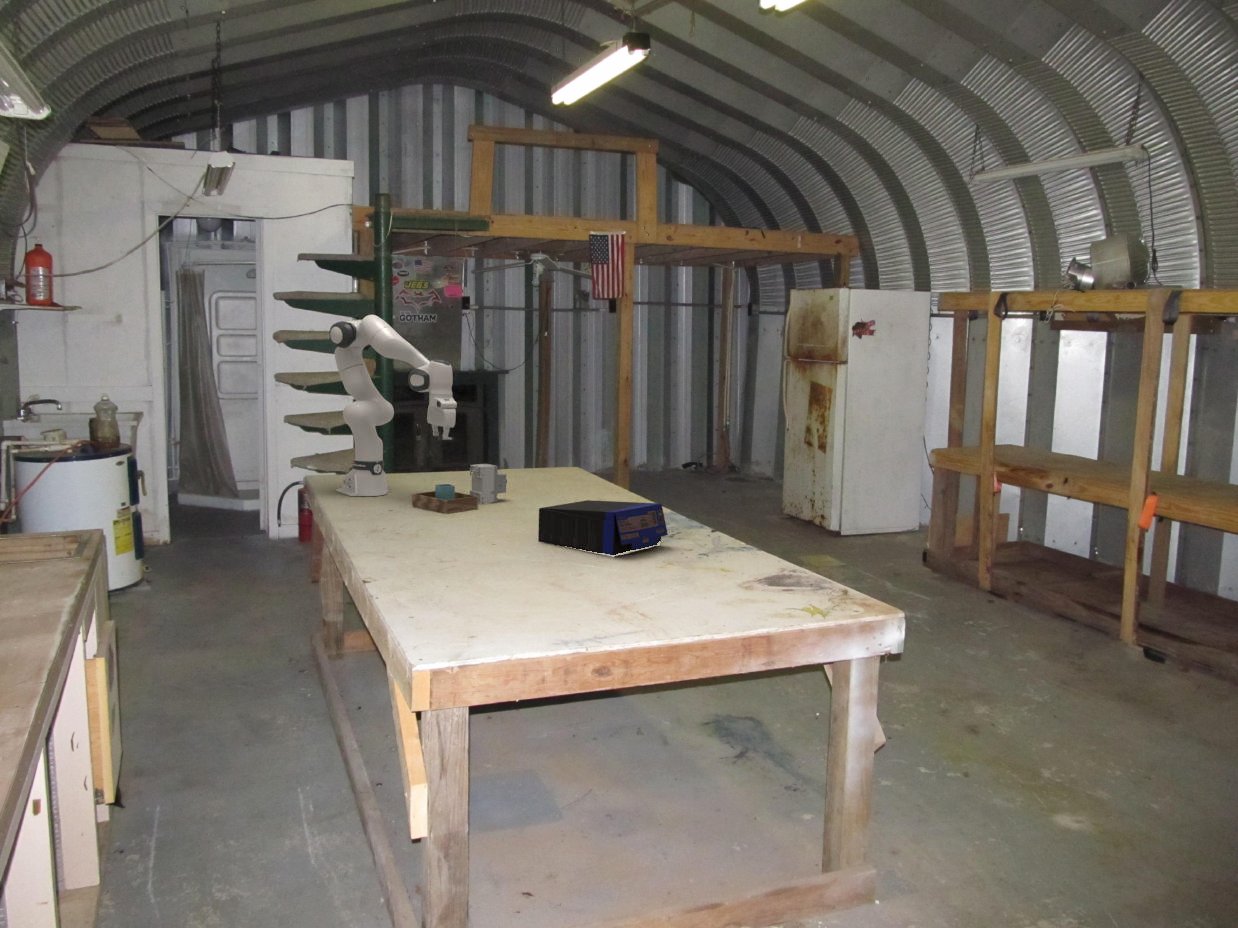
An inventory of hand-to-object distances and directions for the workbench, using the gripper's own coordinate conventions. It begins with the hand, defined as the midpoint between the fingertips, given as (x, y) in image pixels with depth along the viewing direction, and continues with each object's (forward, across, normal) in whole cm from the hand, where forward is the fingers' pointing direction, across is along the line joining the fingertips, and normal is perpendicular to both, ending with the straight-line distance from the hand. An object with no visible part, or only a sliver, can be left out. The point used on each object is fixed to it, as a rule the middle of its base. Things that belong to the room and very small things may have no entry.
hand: (440, 437), depth 366 cm
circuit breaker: (+27, +1, +21) cm, 34 cm away
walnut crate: (+27, +8, -1) cm, 28 cm away
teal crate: (+26, +8, -1) cm, 27 cm away
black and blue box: (+27, +90, +20) cm, 96 cm away
